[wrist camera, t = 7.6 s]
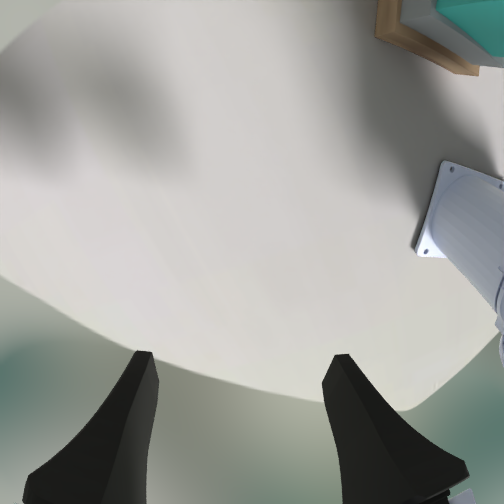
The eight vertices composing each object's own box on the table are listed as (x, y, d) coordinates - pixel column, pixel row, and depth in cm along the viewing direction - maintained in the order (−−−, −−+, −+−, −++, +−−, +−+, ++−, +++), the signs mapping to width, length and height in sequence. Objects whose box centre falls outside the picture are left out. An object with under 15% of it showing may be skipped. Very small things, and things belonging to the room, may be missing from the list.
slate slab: (475, -4, 8) (504, -7, 6) (472, 64, 11) (504, 68, 9) (404, -49, 7) (431, -63, 5) (399, 22, 10) (430, 15, 8)
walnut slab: (455, 0, 11) (480, -4, 8) (451, 73, 14) (478, 76, 12) (378, -41, 10) (398, -55, 7) (371, 37, 13) (394, 31, 11)
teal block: (497, 1, 6) (558, 1, 2) (492, 56, 8) (560, 66, 4) (442, -46, 5) (503, -64, 1) (435, 10, 8) (508, -1, 3)
